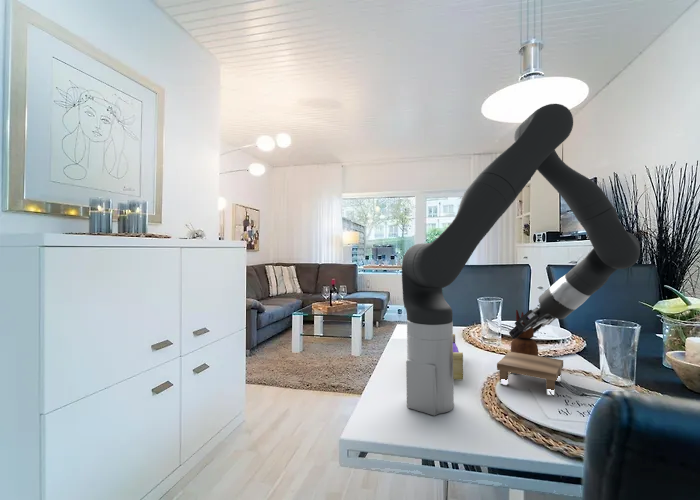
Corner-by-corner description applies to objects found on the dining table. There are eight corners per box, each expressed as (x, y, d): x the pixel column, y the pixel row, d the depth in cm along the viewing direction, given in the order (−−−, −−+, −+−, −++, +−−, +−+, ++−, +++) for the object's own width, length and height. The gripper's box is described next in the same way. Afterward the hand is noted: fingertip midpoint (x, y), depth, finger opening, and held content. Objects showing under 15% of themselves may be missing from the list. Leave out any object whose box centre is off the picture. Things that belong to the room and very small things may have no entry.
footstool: (556, 397, 73) (555, 374, 73) (497, 384, 81) (496, 363, 81) (563, 380, 83) (563, 360, 83) (510, 370, 90) (509, 351, 90)
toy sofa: (464, 381, 83) (463, 339, 83) (427, 379, 85) (427, 338, 85) (455, 356, 104) (455, 322, 104) (426, 354, 106) (426, 321, 106)
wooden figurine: (506, 362, 97) (506, 309, 97) (523, 360, 98) (522, 308, 99) (525, 370, 90) (524, 313, 90) (542, 368, 92) (542, 312, 92)
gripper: (566, 283, 92) (525, 319, 101) (538, 287, 84) (496, 325, 93) (589, 305, 87) (543, 341, 97) (561, 311, 80) (515, 349, 89)
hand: (520, 333), depth 95 cm, fingers open, 8 cm apart
